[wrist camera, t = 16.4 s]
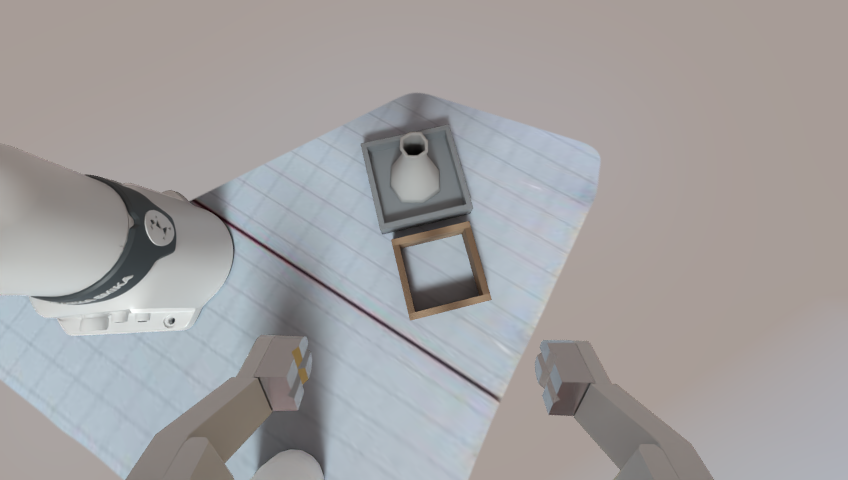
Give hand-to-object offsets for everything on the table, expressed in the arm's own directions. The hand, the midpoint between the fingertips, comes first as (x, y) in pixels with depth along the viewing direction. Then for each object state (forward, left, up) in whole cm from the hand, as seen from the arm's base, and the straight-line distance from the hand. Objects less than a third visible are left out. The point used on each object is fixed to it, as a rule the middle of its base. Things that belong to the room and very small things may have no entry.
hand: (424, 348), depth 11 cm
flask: (+4, +18, -31) cm, 36 cm away
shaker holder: (+4, +5, -31) cm, 32 cm away
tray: (+4, +18, -31) cm, 37 cm away
